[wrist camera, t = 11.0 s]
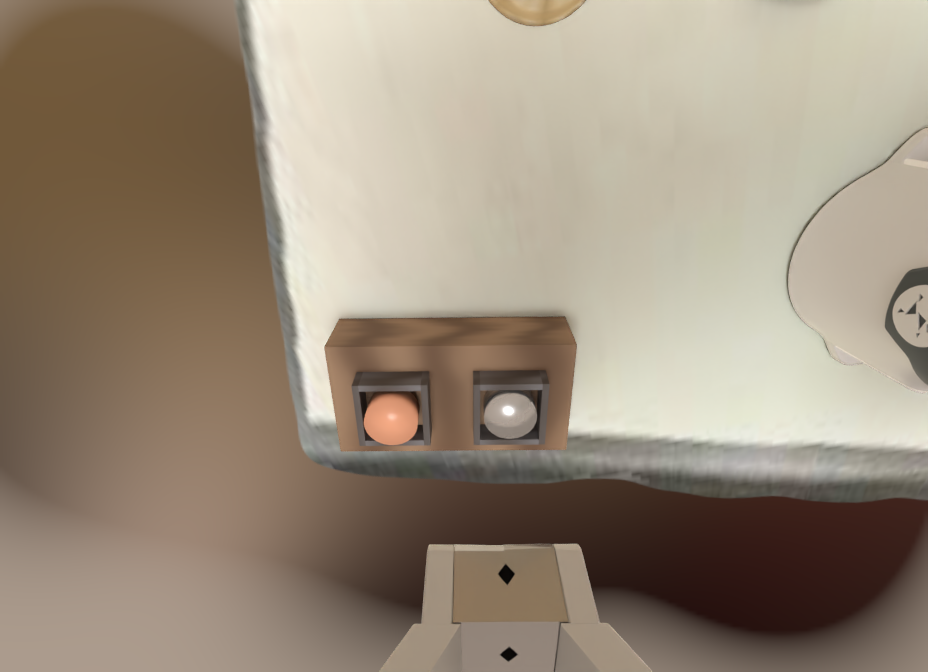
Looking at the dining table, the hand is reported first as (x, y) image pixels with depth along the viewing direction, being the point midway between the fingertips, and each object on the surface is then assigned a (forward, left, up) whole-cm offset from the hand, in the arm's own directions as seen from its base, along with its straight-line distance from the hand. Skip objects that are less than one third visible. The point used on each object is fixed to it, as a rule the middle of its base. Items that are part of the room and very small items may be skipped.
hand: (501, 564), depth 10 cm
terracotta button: (+6, +14, -25) cm, 30 cm away
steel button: (-3, +14, -26) cm, 30 cm away
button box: (+2, +14, -31) cm, 34 cm away
